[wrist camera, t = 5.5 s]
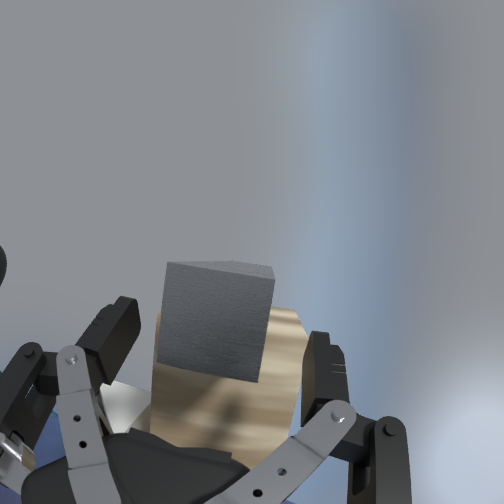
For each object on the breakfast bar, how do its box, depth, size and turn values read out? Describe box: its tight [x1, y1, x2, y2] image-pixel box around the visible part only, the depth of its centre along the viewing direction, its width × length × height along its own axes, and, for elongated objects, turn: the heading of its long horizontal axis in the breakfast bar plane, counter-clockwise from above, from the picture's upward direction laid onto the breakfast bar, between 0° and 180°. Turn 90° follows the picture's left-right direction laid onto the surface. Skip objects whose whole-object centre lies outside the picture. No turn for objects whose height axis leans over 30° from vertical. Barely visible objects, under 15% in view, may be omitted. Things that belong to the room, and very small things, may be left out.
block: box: [100, 381, 151, 433], centre depth 23 cm, size 9×6×21 cm, turn 177°
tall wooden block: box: [150, 307, 309, 470], centre depth 24 cm, size 12×10×32 cm
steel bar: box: [157, 261, 275, 383], centre depth 21 cm, size 21×4×4 cm, turn 177°
